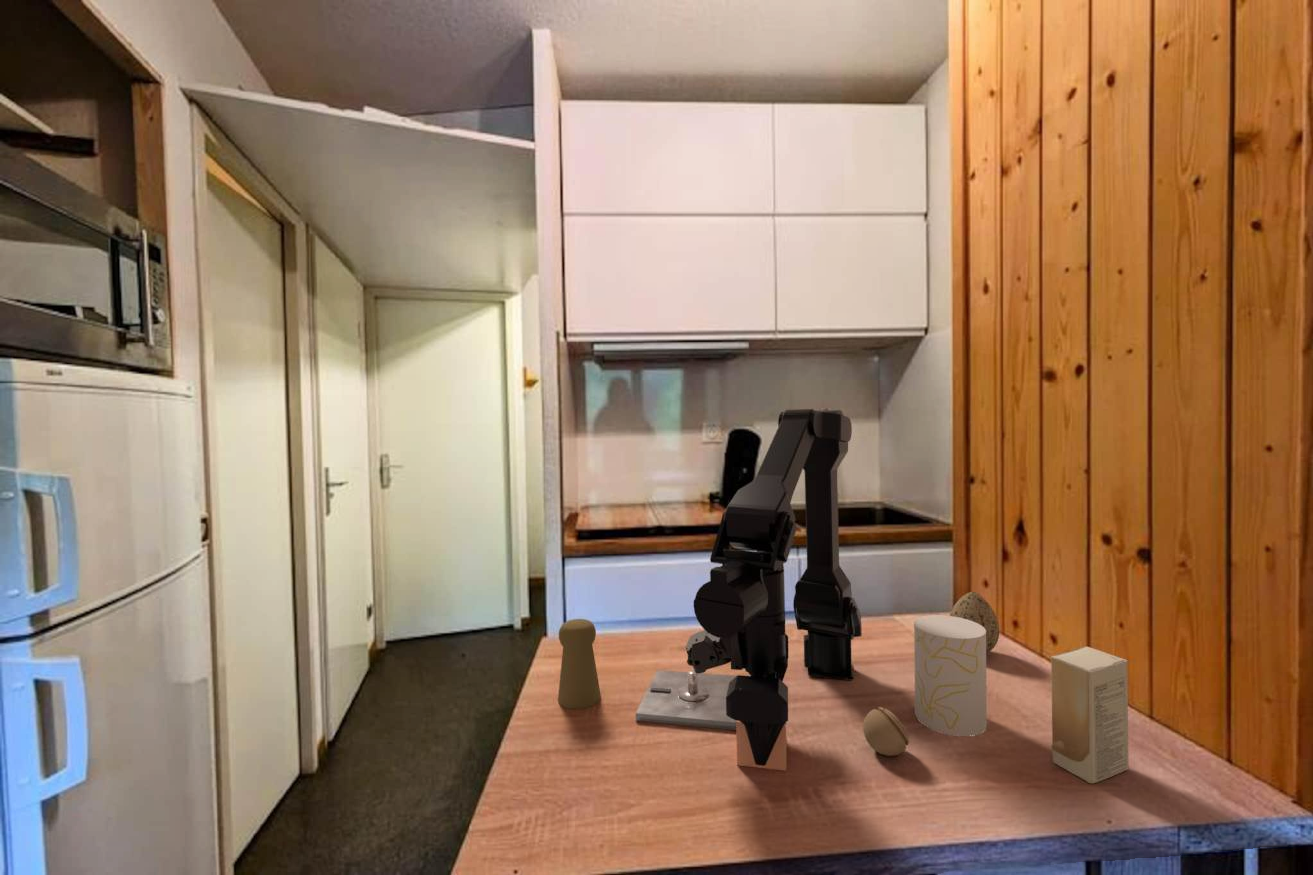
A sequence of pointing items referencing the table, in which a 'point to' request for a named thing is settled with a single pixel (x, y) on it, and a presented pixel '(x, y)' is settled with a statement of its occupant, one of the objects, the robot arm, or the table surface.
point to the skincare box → (1090, 713)
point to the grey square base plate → (687, 700)
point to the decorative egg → (978, 616)
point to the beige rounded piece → (885, 732)
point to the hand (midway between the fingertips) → (762, 740)
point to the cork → (578, 665)
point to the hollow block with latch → (746, 757)
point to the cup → (950, 674)
